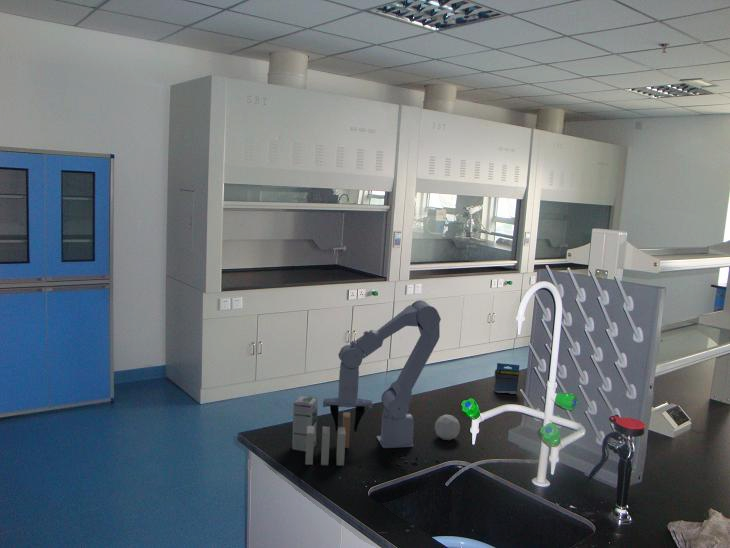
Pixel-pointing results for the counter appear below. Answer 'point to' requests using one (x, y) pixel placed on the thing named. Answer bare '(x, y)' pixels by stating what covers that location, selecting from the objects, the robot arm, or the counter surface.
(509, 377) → the label tape box
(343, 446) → the tile
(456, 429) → the ball
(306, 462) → the tile
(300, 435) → the syrup box
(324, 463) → the tile
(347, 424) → the tile
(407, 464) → the counter surface
